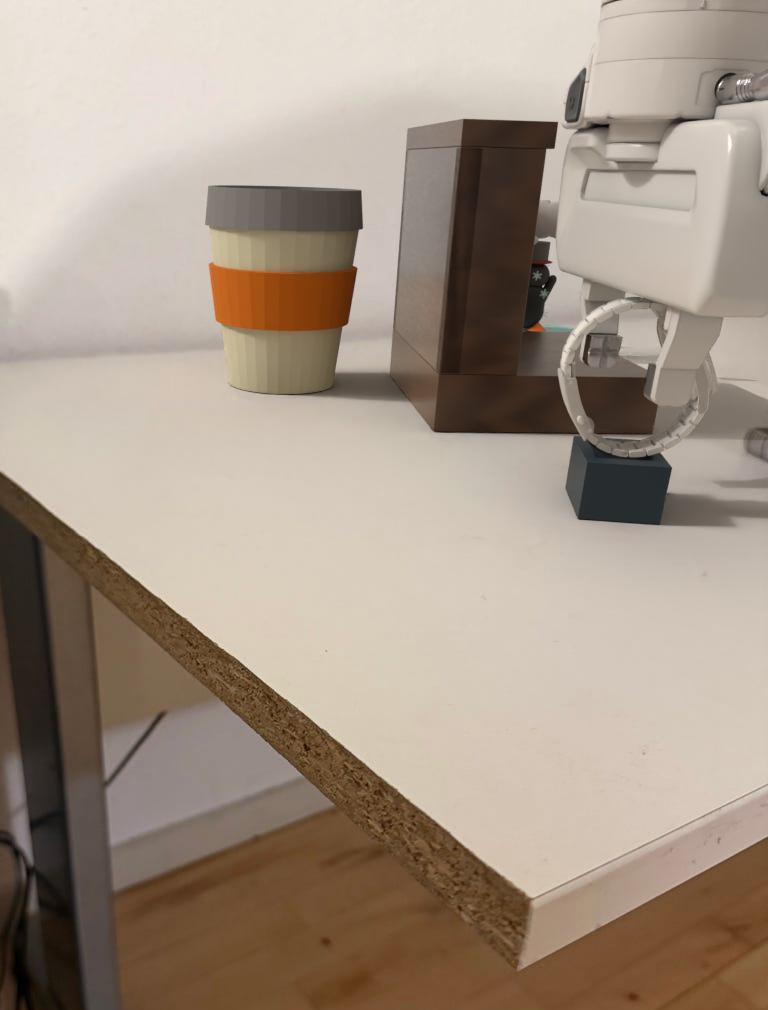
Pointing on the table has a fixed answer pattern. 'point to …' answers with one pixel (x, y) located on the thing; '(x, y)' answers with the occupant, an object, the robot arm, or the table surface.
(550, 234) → the penguin figurine
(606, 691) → the table surface
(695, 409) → the watch
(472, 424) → the shelf
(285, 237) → the reusable coffee cup
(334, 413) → the table surface
